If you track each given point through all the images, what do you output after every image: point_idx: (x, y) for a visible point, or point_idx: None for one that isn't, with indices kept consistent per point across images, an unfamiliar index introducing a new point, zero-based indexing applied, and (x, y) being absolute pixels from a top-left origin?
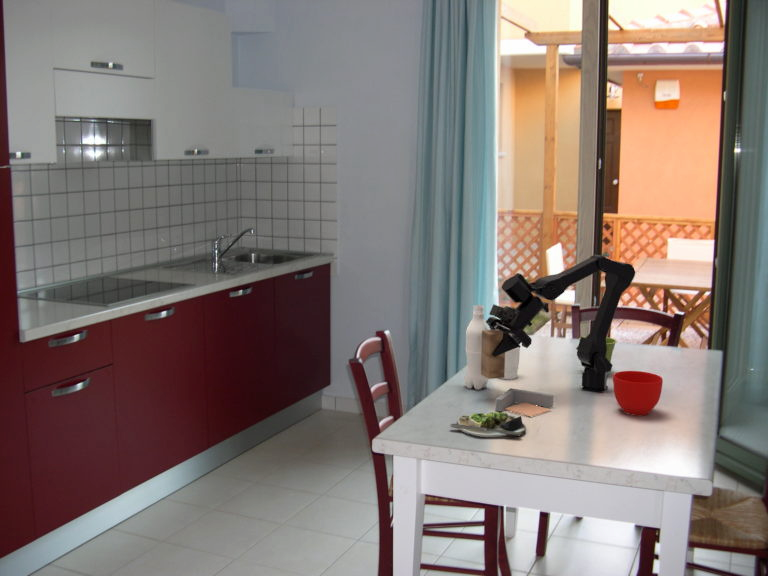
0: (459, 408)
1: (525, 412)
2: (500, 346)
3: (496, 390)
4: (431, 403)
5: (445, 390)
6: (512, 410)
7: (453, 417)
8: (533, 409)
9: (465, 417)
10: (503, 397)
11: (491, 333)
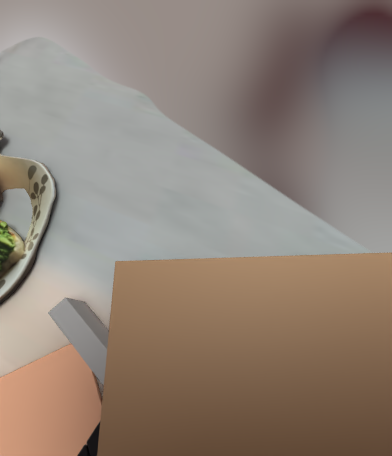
0: (148, 212)
1: (10, 396)
2: (88, 445)
3: None
4: (210, 163)
5: (329, 237)
6: (51, 356)
7: (86, 173)
8: (24, 452)
9: (40, 183)
10: (68, 334)
11: (168, 342)
